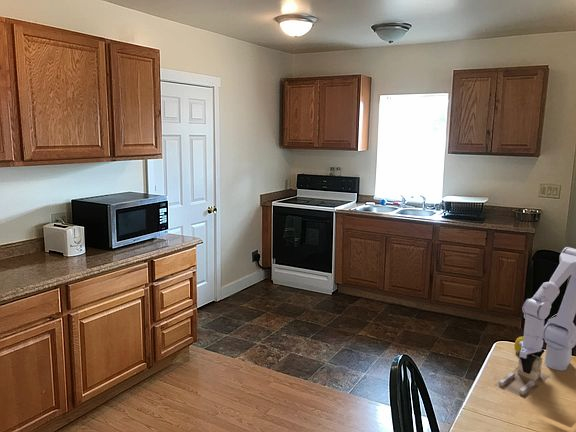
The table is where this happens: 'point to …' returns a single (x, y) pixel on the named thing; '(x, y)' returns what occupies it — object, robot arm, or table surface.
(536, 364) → the block
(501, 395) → the table surface
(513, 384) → the board
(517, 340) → the lemon
